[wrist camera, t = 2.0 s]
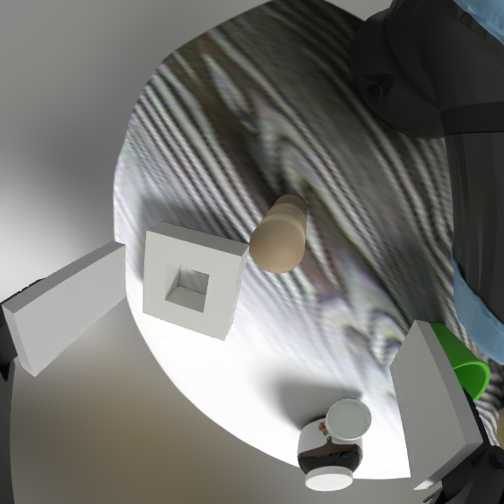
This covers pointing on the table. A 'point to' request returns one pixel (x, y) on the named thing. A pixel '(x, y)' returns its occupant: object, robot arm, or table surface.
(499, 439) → the cantaloupe
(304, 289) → the table surface
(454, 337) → the cup
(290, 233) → the peg
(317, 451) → the spread jar
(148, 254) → the socket block
